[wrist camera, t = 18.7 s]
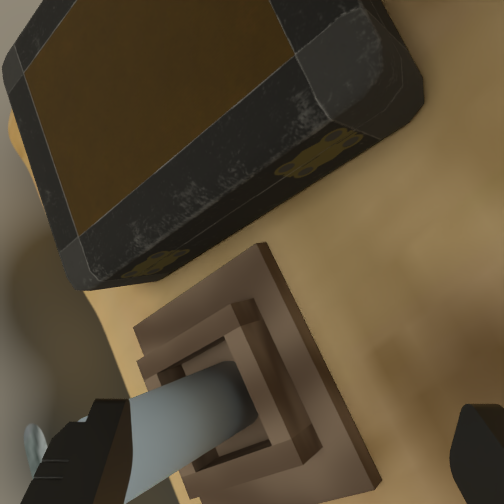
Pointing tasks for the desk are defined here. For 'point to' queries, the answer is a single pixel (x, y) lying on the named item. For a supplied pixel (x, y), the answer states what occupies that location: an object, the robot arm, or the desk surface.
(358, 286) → the desk surface
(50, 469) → the robot arm
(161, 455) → the cylinder
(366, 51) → the cash box
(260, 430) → the holder
